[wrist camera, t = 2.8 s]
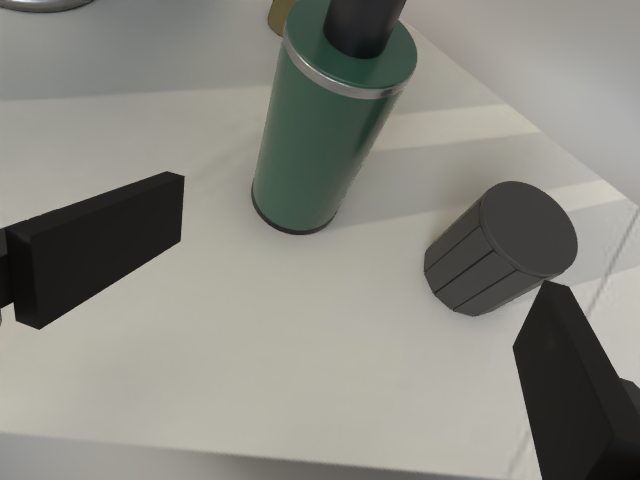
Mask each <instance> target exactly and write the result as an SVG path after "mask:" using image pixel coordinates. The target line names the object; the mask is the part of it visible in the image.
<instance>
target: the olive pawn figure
mask: <svg viewBox="0 0 640 480" xmlns="http://www.w3.org/2000/svg"><path fill="white" fill-rule="evenodd" d="M297 1H298V0H273V2H272V6H271V9H270V12H269V15H268V24H269V26H270V27H271V29H272V30H273V31H274V32H276V33H277V34H278V35H280V36H282V37H283V31H284V26H285V21H286V17H287V15H288V13H289V11H290V9H291V7H292V6H293V5H294V4H295V3H296V2H297Z"/></svg>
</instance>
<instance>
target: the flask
mask: <svg viewBox="0 0 640 480" xmlns="http://www.w3.org/2000/svg"><path fill="white" fill-rule="evenodd" d="M405 2H406V0H298V1H297V2H296V3H295V4H294V5H293V6H292V7H291V9H290V11H289V13H288V15H287V17H286V21H285V26H284V31H283V40H282V44H281V49H280V54H279V59H278V64H277V69H276V74H275V79H274V83H273V88H272V93H271V98H270V103H269V108H268V113H267V118H266V122H265V127H264V132H263V137H262V142H261V147H260V152H259V157H258V161H257V166H256V171H255V176H254V179H253V183H252V189H251V197H252V202H253V205H254V207H255V209H256V211H257V213H258V214H259V215H260V217H261V218H262V219H263V220H264V221H265V222H266V223H268V224H269V225H270V226H272V227H273V228H275V229H277V230H279V231H282V232H284V233H288V234H294V235H307V234H312V233H315V232H318V231H320V230H321V229H323V228H325V227H326V226H327V225H328V224H329V223H330V222H331V221H332V219H333V218H334V216H335V214H336V212H337V210H338V208H339V206H340V204H341V202H342V200H343V199H344V197H345V195H346V193H347V191H348V189H349V188H350V186H351V184H352V182H353V180H354V178H355V177H356V175H357V173H358V171H359V169H360V168H361V166H362V164H363V162H364V160H365V158H366V157H367V155H368V153H369V151H370V149H371V148H372V146H373V144H374V142H375V140H376V138H377V137H378V135H379V133H380V131H381V129H382V127H383V126H384V124H385V122H386V120H387V118H388V117H389V115H390V113H391V111H392V109H393V107H394V106H395V104H396V102H397V100H398V98H399V97H400V95H401V93H402V91H403V89H404V87H405V86H406V85H407V83H408V82H409V80H410V78H411V76H412V75H413V72H414V70H415V67H416V63H417V50H416V46H415V43H414V41H413V39H412V37H411V35H410V33H409V32H408V30H407V29H406V28H405V27H404V26H403V24H402V23H401V22H400V21H399V20H398V18H399V16H400V13H401V11H402V9H403V7H404V5H405Z"/></svg>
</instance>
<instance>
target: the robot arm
mask: <svg viewBox="0 0 640 480" xmlns="http://www.w3.org/2000/svg"><path fill="white" fill-rule="evenodd" d="M90 1H92V0H0V7H4V8H8V9H13V10H19V11H28V12H53V11H61V10H67V9H71V8H75V7H78V6H81V5H83V4H86V3H88V2H90ZM184 178H185V176H182V175H178V174H175V173H171V172H168V171H166V172H163V173H160V174H157V175H154V176H152V177H149V178H146V179H143V180H140V181H137V182H134V183H132V184H129V185H126V186H123V187H120V188H117V189H114V190H112V191H109V192H106V193H103V194H100V195H97V196H94V197H92V198H89V199H86V200H83V201H80V202H77V203H74V204H72V205H69V206H66V207H63V208H60V209H56V210H53V211H50V212H47V213H44V214H42V215H40V216H36V217H33V218H30V219H29V220H24V221H21V222H18V223H16V224H13V225H10V226H7V227H4V228H1V229H0V325H1V322H2V316H1V308H3V307H5V306H7V305H9V304H11V303H13V302H14V310H15V318H16V321H18V322H20V323H23V324H25V325H28V326H31V327H33V328H36V329H38V330H40V329H42V328H43V327H45V326H46V325H48V324H50V323H51V322H53V321H54V320H56V319H58V318H59V317H61V316H62V315H64V314H65V313H67V312H69V311H70V310H72V309H73V308H75V307H77V306H78V305H80V304H81V303H83V302H85V301H86V300H88V299H89V298H91V297H93V296H94V295H96V294H97V293H99V292H101V291H102V290H104V289H105V288H107V287H109V286H110V285H112V284H113V283H115V282H116V281H118V280H120V279H121V278H123V277H124V276H126V275H128V274H129V273H131V272H132V271H134V270H136V269H137V268H139V267H140V266H142V265H144V264H145V263H147V262H148V261H150V260H152V259H153V258H155V257H156V256H158V255H159V254H161V253H163V252H164V251H166V250H167V249H169V248H171V247H172V246H174V245H175V244H177V243H179V242H180V241H181V226H182V210H183V194H184ZM513 352H514V356H515V361H516V365H517V369H518V374H519V378H520V383H521V387H522V392H523V396H524V400H525V405H526V409H527V414H528V418H529V423H530V427H531V432H532V436H533V440H534V445H535V449H536V454H537V458H538V463H539V467H540V472H541V476H542V480H640V388H639V387H637V386H636V385H635V384H634V383H633V382H631V381H628V380H625V379H622V378H619V377H618V375H617V373H616V371H615V369H614V368H613V366H612V364H611V362H610V360H609V358H608V357H607V355H606V353H605V351H604V349H603V348H602V346H601V344H600V342H599V340H598V338H597V337H596V335H595V333H594V331H593V329H592V328H591V326H590V324H589V322H588V320H587V319H586V317H585V315H584V313H583V311H582V309H581V308H580V306H579V304H578V302H577V300H576V299H575V297H574V295H573V293H572V291H571V290H570V288H569V287H568V286H565V285H561V284H558V283H554V282H551V281H547V280H544V281H543V283H542V285H541V288H540V290H539V292H538V294H537V296H536V298H535V300H534V302H533V304H532V307H531V309H530V311H529V313H528V315H527V317H526V319H525V321H524V324H523V326H522V328H521V330H520V332H519V334H518V336H517V338H516V340H515V343H514V345H513Z"/></svg>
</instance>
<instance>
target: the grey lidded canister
mask: <svg viewBox="0 0 640 480" xmlns="http://www.w3.org/2000/svg"><path fill="white" fill-rule="evenodd" d="M577 249H578V243H577V236H576V233H575V230H574V227H573V225H572V223H571V221H570V219H569V217H568V216H567V214H566V213H565V211H564V210H563V209H562V208H561V206H560V205H559V204H558V203H557V202H556V201H555V200H554V199H552V198H551V197H550V196H549V195H547V194H546V193H545V192H543V191H541V190H540V189H538V188H536V187H534V186H532V185H529V184H526V183H522V182H517V181H507V182H502V183H499V184H497V185H495V186H494V187H492V188H490V189H489V190H488V191H487V192H486V193H484V194H483V195H482V196H481V197H480V198H479V199H478V200H477V201H476V202H475V203H474V204H473V205H472V206H471V207H470V208H469V209H468V210H467V211H466V212H465V213H464V214H462V215H461V216H460V217H459V218H458V219H457V220H456V221H455V222H454V223H453V224H452V225H451V226H450V227H449V228H448V229H447V230H446V231H445V232H444V233H443V234H441V235H440V236H439V237H438V238H437V239H436V240H435V241H434V243H433V244H432V245H431V246H430V247H429V249H428V250H427V251H426V253H425V263H424V272H425V273H424V274H425V277H426V279H427V281H428V283H429V285H430V288H431V290H432V292H433V293H435V296H436V297H437V298H438V299H440V300H441V301H442V302H443V303H444V304H445V305H446V306H447V307H449V308H450V309H451V310H452V309H453V311H455V312H459V313H462V314H466V315H469V316H478V315H481V314H485V313H488V312H491V311H493V310H495V309H497V308H499V307H500V306H502V305H504V304H506V303H508V302H510V301H512V300H514V299H515V298H517V297H519V296H521V295H523V294H525V293H527V292H529V291H530V290H532V289H534V288H536V287H538V286H540V285H542V283H543V281H544V280H547V281H549V280H551V279H553V278H555V277H557V276H558V275H560V274H562V273H563V272H564V271H565V270H566V269H568V268H569V267H570V266H571V265H572V263H573V262H574V260H575V258H576V255H577Z"/></svg>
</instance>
